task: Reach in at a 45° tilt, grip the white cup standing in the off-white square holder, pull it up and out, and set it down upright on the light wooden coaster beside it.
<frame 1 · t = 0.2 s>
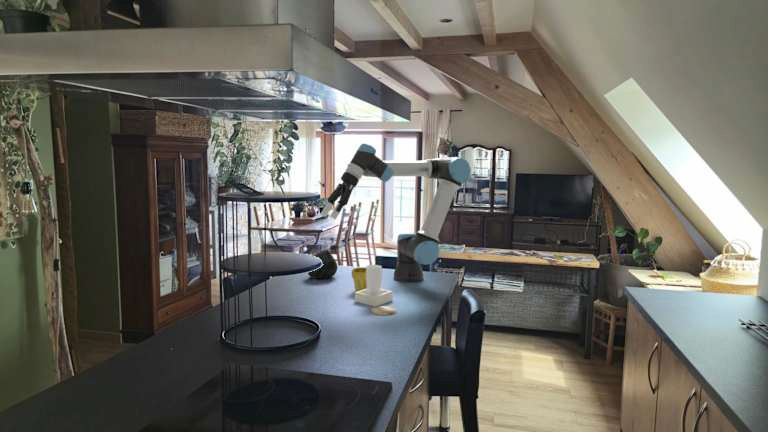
hand: (327, 216, 219), 35 cm above the kitchen island, tool tilted 35°, fingers open, 13 cm apart
squash: (322, 277, 256), on the kitchen island
wooden coaster: (383, 311, 201), on the kitchen island
plant pot: (362, 291, 231), on the kitchen island
white cup: (373, 301, 215), resting in square holder
square holder: (373, 300, 215), on the kitchen island
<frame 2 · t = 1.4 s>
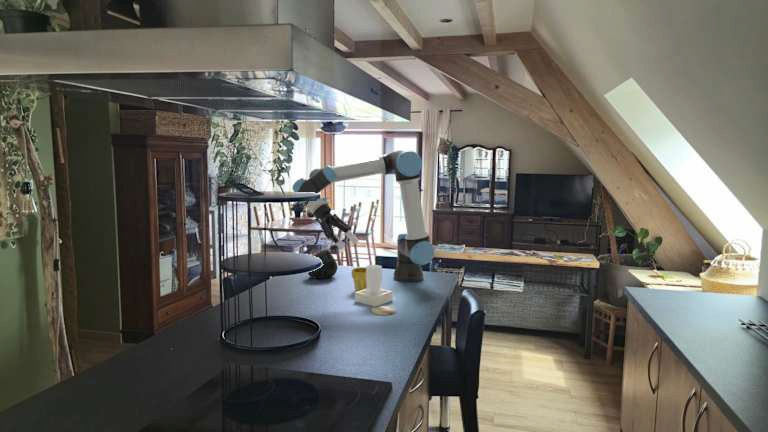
hand: (350, 245, 216), 23 cm above the kitchen island, tool tilted 45°, fingers open, 13 cm apart
nothing on the kitchen island moved.
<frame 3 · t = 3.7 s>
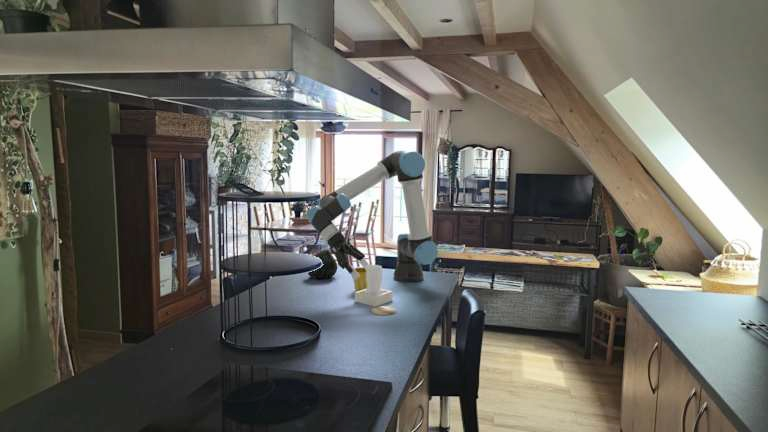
hand: (364, 274, 214), 11 cm above the kitchen island, tool tilted 45°, fingers open, 13 cm apart
nothing on the kitchen island moved.
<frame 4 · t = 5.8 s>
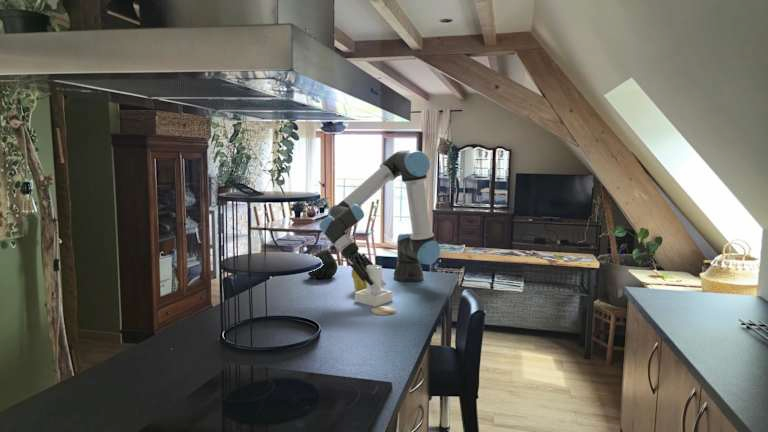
hand: (381, 288, 213), 6 cm above the kitchen island, tool tilted 45°, fingers closed on white cup, 7 cm apart
white cup: (373, 301, 215), resting in square holder, touching gripper
everything else where it was.
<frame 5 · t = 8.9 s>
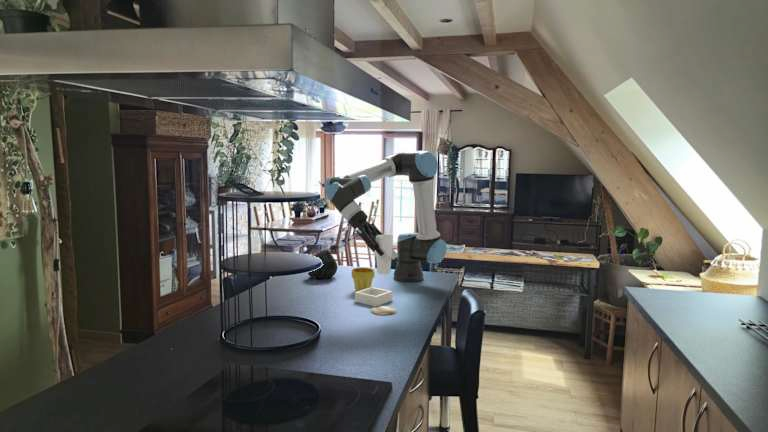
hand: (392, 259, 197), 21 cm above the kitchen island, tool tilted 45°, fingers closed on white cup, 7 cm apart
white cup: (383, 273, 199), point 15 cm above the kitchen island, touching gripper
everything else where it was.
when the fingers open (7 cm above the kitchen island, at t = 11.8 s): white cup stays where it is, resting on wooden coaster.
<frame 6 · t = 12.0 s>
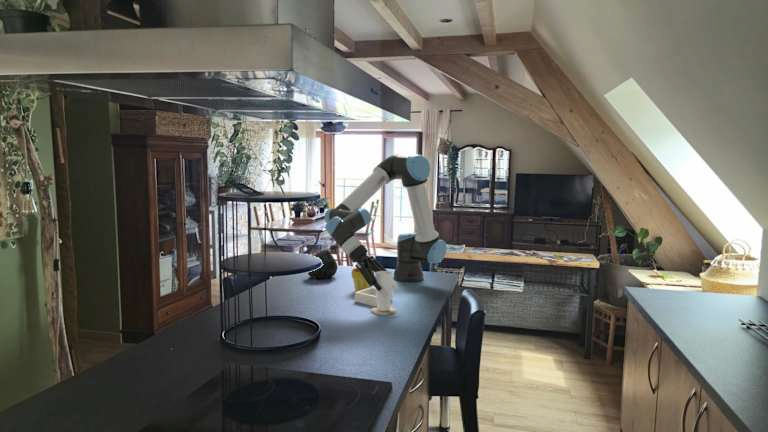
hand: (391, 292, 199), 8 cm above the kitchen island, tool tilted 45°, fingers open, 9 cm apart
white cup: (383, 310, 201), resting on wooden coaster
everything else where it was.
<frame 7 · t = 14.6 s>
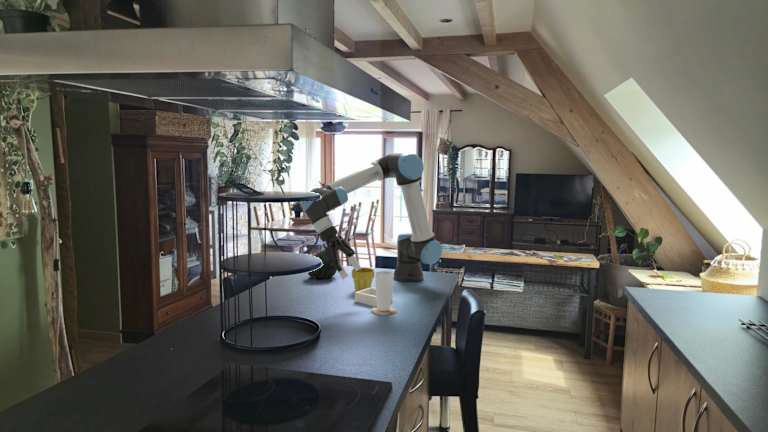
hand: (352, 273, 207), 13 cm above the kitchen island, tool tilted 35°, fingers open, 13 cm apart
nothing on the kitchen island moved.
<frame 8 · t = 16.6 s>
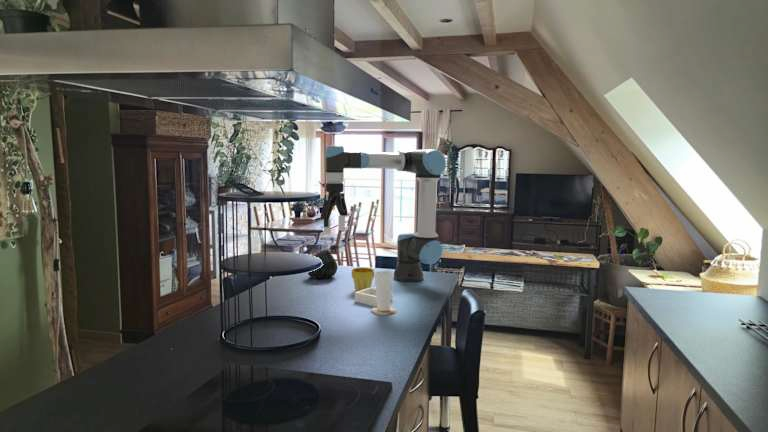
hand: (334, 232, 216), 29 cm above the kitchen island, tool pointing down, fingers open, 13 cm apart
nothing on the kitchen island moved.
at the end: white cup 0.1 cm from the wooden coaster (horizontally); white cup tilted 0°; the gripper is holding nothing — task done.
